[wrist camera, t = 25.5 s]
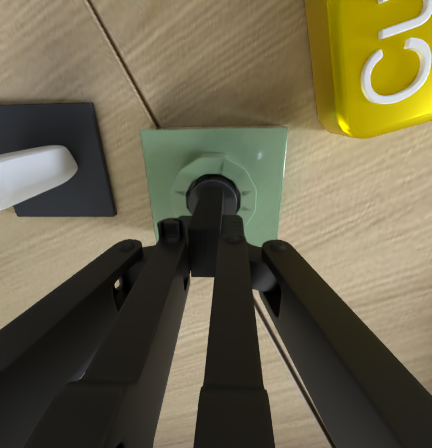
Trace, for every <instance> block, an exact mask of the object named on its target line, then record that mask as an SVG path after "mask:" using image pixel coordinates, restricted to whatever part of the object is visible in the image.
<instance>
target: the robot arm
mask: <svg viewBox="0 0 432 448" xmlns="http://www.w3.org/2000/svg"><path fill="white" fill-rule="evenodd" d="M157 227H158V234H159V240H158V242H157V244H156V245H154V246H148V247H142V243H141V242H140V241H138V240H131V239H128V240H123V241H121V242H118V243H117V244H115V245H113V246H112V247H111V248H109V249H108V250H107V251H105V252H104V253H103V254H101V255H100V256H99V257H97V258H96V259H95V260H93V261H92V262H91V263H89V264H88V265H87V266H85V267H84V268H83V269H81V270H80V271H79V272H77V273H76V274H74V275H73V276H72V277H70V278H69V279H68V280H66V281H65V282H64V283H62V284H61V285H60V286H58V287H57V288H56V289H54V290H53V291H52V292H50V293H49V294H48V295H46V296H45V297H44V298H42V299H41V300H40V301H38V302H37V303H36V304H34V305H33V306H32V307H30V308H29V309H28V310H26V311H25V312H24V313H22V314H21V315H19V316H18V317H17V318H15V319H14V320H13V321H11V322H10V323H9V324H7V325H6V326H5V327H3V328H2V329H1V330H0V448H153V442H154V437H155V432H156V428H157V424H158V419H159V415H160V411H161V406H162V402H163V398H164V394H165V389H166V385H167V381H168V376H169V372H170V368H171V363H172V359H173V355H174V350H175V346H176V342H177V337H178V333H179V329H180V324H181V320H182V316H183V311H184V307H185V303H186V299H187V294H188V290H189V286H190V276H189V274H190V270H191V277H215V278H214V287H213V297H212V307H211V317H210V326H209V336H208V346H207V356H206V366H205V375H204V383H203V386H202V387H201V390H200V396H199V403H198V412H197V421H196V430H195V439H194V447H193V448H275V443H274V435H273V427H272V420H271V412H270V405H269V398H268V394H267V390H265V389H264V385H263V378H262V369H261V361H260V352H259V343H258V335H257V326H256V317H255V309H254V300H253V291H252V289H255V290H258V291H259V295H260V297H261V299H262V301H263V303H264V305H265V307H266V309H267V311H268V313H269V315H270V317H271V319H272V321H273V323H274V325H275V327H276V329H277V331H278V333H279V335H280V337H281V339H282V341H283V343H284V345H285V347H286V349H287V351H288V353H289V355H290V357H291V359H292V361H293V363H294V365H295V367H296V369H297V371H298V373H299V375H300V377H301V379H302V381H303V383H304V385H305V387H306V389H307V391H308V393H309V395H310V397H311V398H312V400H313V402H314V404H315V406H316V408H317V410H318V412H319V414H320V416H321V418H322V420H323V422H324V424H325V426H326V428H327V430H328V432H329V434H330V436H331V438H332V440H333V442H334V444H335V446H336V448H432V395H431V394H430V393H429V392H428V391H427V390H426V389H425V388H424V387H423V386H422V385H421V384H420V383H419V382H418V380H417V379H416V378H415V377H414V376H413V375H412V374H411V373H410V372H409V371H408V370H407V369H406V368H405V367H404V365H403V364H402V363H401V362H400V361H399V360H398V359H397V358H396V357H395V356H394V355H393V354H392V353H391V352H390V350H389V349H388V348H387V347H386V346H385V345H384V344H383V343H382V342H381V341H380V340H379V339H378V338H377V337H376V335H375V334H374V333H373V332H372V331H371V330H370V329H369V328H368V327H367V326H366V325H365V324H364V323H363V322H362V320H361V319H360V318H359V317H358V316H357V315H356V314H355V313H354V312H353V311H352V310H351V309H350V308H349V307H348V305H347V304H346V303H345V302H344V301H343V300H342V299H341V298H340V297H339V296H338V295H337V294H336V293H335V292H334V290H333V289H332V288H331V287H330V286H329V285H328V284H327V283H326V282H325V281H324V280H323V279H322V278H321V277H320V275H319V274H318V273H317V272H316V271H315V270H314V269H313V268H312V267H311V266H310V265H309V264H308V263H307V262H306V260H305V259H304V258H303V257H302V256H301V255H300V254H299V253H298V252H297V251H296V250H295V249H294V248H293V247H292V245H290V244H289V243H287V242H285V241H282V240H277V239H276V240H269V241H266V242H264V243H263V245H262V247H258V246H254V245H252V244H249V243H248V242H247V240H246V237H245V235H244V226H243V218H242V217H241V216H239V215H224V188H202V191H201V194H200V196H199V199H198V202H197V205H196V207H195V210H194V213H193V215H192V216H187V215H181V216H179V217H178V218H166V219H163V220H161V221H159V222H158V223H157ZM118 279H119V283H120V285H119V286H118V287H117V288H115V286H114V284H115V283H116V281H117V280H118ZM85 371H86V372H85ZM84 373H85V374H84ZM83 374H84V375H83ZM82 375H83V376H82ZM81 376H82V378H81ZM80 378H81V379H80ZM79 379H80V380H79Z"/></svg>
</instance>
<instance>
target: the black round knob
mask: <svg viewBox="0 0 432 448" xmlns="http://www.w3.org/2000/svg"><path fill="white" fill-rule="evenodd" d="M202 188H224V215H234V214H235V212H236V209H237V194H236V190H235V187H234V185H233V184H232V183H231V182H230V181H229V180H228V179H227V178H225V177H223V176H221V175H216V174H212V175H206V176H204V177H202V178H200V179H199V180H198V181H197V182H196V183H195V185H194V186H193V188H192V191H191V193H190V195H189V199H188V205H189V210H190V212H191V214H192V215H193V213H194V210H195V207H196V205H197V202H198V199H199V196H200V194H201V191H202Z"/></svg>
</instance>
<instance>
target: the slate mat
mask: <svg viewBox="0 0 432 448" xmlns="http://www.w3.org/2000/svg"><path fill="white" fill-rule="evenodd" d="M48 145H61V146H64V147H66V148H67V149H68V150H69V152H70V153H71V155H72V156H73V158H74V160H75V162H76V163H77V166H78V170H77V172H76V173H75V174H74V175H73V176H72V177H71V178H70V179H69V180H68V181H66V182H65V183H63V184H61V185H59V186H57V187H54V188H52V189H50V190H47V191H45V192H43V193H41V194H38V195H36V196H34V197H31V198H29V199H27V200H25V201H22V202H20V203H18V204H15V205H13V207H14V209H15V211H16V214H17V216H18V217H114V216H116V215H117V213H116V208H115V203H114V199H113V194H112V189H111V184H110V180H109V175H108V170H107V166H106V161H105V156H104V152H103V147H102V142H101V138H100V133H99V128H98V124H97V119H96V114H95V109H94V105H93V103H56V104H19V105H0V154H5V153H10V152H16V151H21V150H26V149H31V148H37V147H42V146H48Z"/></svg>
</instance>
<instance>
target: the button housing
mask: <svg viewBox="0 0 432 448" xmlns="http://www.w3.org/2000/svg"><path fill="white" fill-rule="evenodd" d="M140 134H141V141H142V148H143V155H144V161H145V168H146V175H147V182H148V189H149V196H150V203H151V209H152V216H153V223H154V230H155V237H156V244H157V242H158V240H159V234H158V227H157V223H158V222H159V221H161V220H163V219H166V218H178V217H179V216H181V215H187V216H192V214H191V212H190V210H189V205H188V199H189V195H190V193H191V191H192V188H193V186H194V185H195V183H196V182H197V181H198V180H199V179H200V178H202V177H204V176H206V175H212V174H216V175H221V176H223V177H225V178H227V179H228V180H229V181H230V182H231V183H232V184H233V185H234V187H235V190H236V194H237V209H236V212H235V214H234V215H239V216H241V217H242V218H243V226H244V235H245V237H246V240H247V242H248V243H249V244H252V245H254V246H262V245H263V243H264V242H266V241H269V240H276V239H277V238H278V228H279V218H280V207H281V197H282V187H283V177H284V167H285V156H286V146H287V136H288V127H286V126H282V125H258V126H210V127H161V128H147V129H143V130H140Z"/></svg>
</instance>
